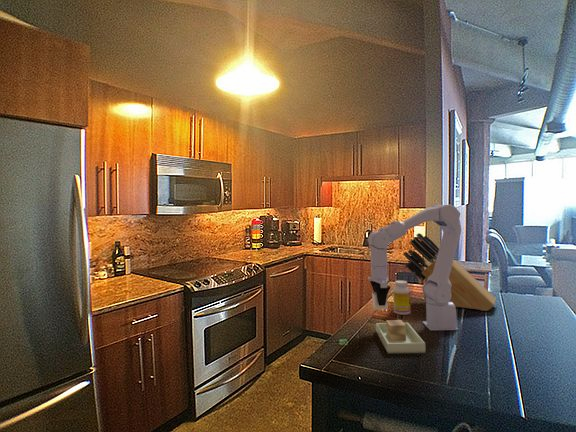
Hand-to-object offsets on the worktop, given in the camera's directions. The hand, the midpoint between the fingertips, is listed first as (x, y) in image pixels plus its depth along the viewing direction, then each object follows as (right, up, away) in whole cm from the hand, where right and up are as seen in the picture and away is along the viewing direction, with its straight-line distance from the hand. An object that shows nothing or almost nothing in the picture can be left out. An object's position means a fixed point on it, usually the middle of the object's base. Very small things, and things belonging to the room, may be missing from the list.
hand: (380, 303), depth 118 cm
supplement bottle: (+14, -9, +18) cm, 24 cm away
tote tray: (+3, -10, -10) cm, 14 cm away
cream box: (0, -2, 0) cm, 2 cm away
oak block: (+3, -10, -8) cm, 12 cm away
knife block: (+37, -8, +27) cm, 47 cm away
